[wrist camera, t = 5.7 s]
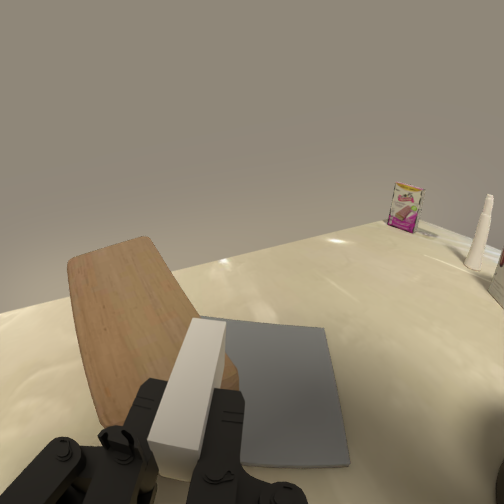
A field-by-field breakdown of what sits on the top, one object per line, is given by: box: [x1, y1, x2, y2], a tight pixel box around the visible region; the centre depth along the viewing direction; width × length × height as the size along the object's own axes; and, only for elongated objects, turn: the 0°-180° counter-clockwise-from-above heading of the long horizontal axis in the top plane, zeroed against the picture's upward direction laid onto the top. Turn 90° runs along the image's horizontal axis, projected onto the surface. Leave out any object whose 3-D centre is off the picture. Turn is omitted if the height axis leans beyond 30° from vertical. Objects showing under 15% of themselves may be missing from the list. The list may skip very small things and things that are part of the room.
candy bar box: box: [387, 182, 425, 233], centre depth 98 cm, size 11×5×16 cm, turn 43°
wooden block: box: [67, 236, 239, 428], centre depth 25 cm, size 10×10×20 cm
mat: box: [200, 316, 350, 468], centre depth 31 cm, size 22×22×1 cm
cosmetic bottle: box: [464, 194, 494, 271], centre depth 67 cm, size 6×6×22 cm
